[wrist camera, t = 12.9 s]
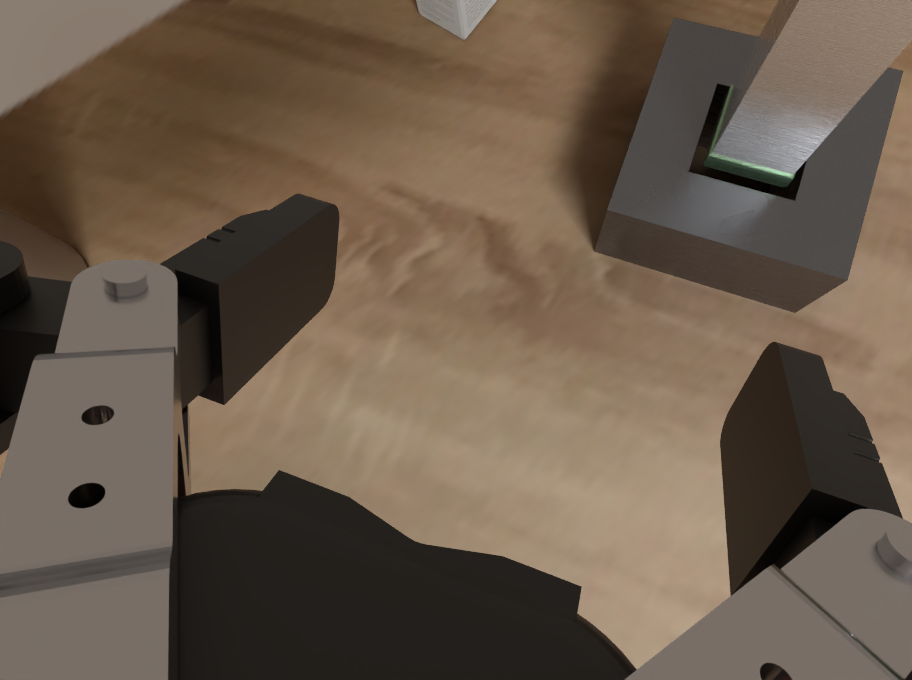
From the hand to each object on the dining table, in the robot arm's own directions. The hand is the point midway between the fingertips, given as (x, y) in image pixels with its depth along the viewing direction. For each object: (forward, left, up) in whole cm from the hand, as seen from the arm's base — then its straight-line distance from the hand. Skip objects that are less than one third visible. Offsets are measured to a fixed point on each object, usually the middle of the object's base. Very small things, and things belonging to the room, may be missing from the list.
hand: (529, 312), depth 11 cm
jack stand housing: (+6, +18, -26) cm, 32 cm away
